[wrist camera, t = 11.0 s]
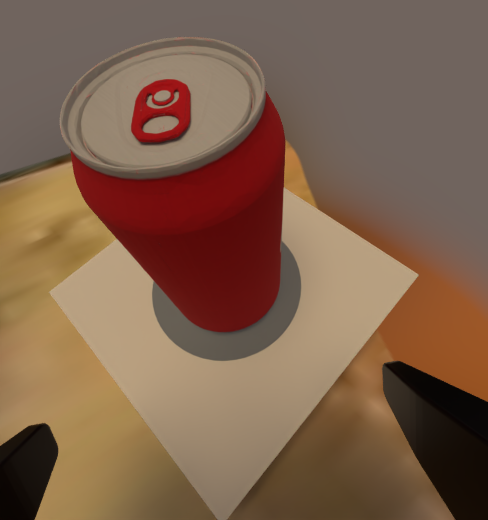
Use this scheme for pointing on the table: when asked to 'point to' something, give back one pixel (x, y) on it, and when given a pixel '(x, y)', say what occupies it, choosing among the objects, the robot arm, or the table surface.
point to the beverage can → (186, 172)
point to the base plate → (236, 348)
